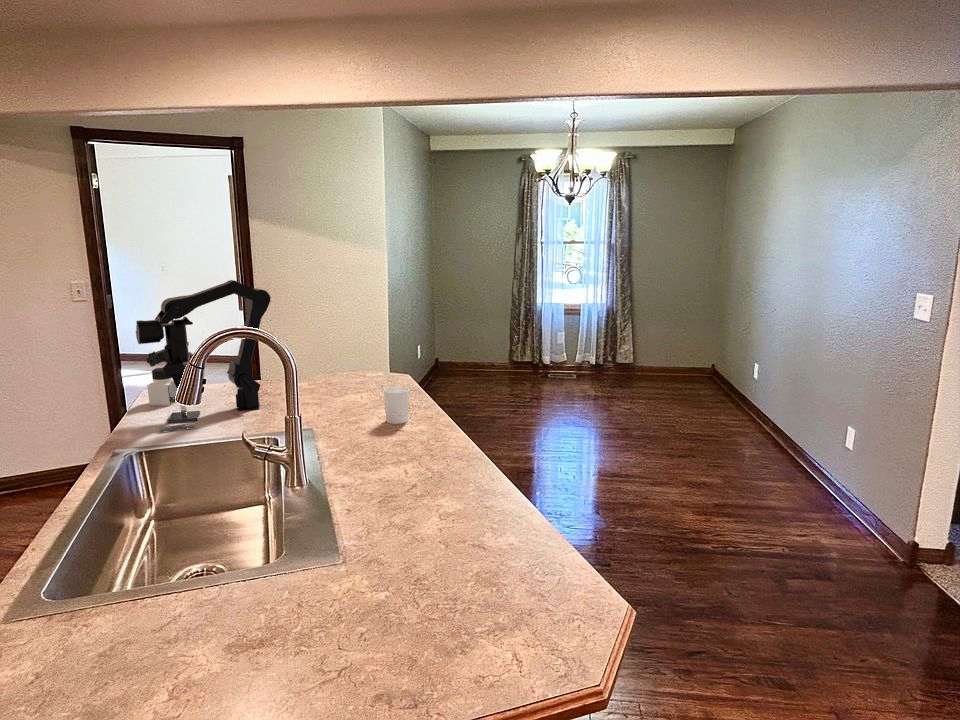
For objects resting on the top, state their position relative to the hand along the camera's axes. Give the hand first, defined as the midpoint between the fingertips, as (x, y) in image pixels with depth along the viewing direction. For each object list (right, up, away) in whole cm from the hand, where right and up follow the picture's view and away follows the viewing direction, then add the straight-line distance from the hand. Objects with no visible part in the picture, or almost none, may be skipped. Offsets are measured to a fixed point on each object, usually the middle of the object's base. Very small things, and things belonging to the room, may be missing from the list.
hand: (182, 390), depth 185 cm
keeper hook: (0, -9, +2) cm, 9 cm away
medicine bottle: (-15, -5, +18) cm, 24 cm away
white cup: (+66, -10, +1) cm, 67 cm away
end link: (0, -1, 0) cm, 1 cm away
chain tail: (+3, -11, -8) cm, 14 cm away
